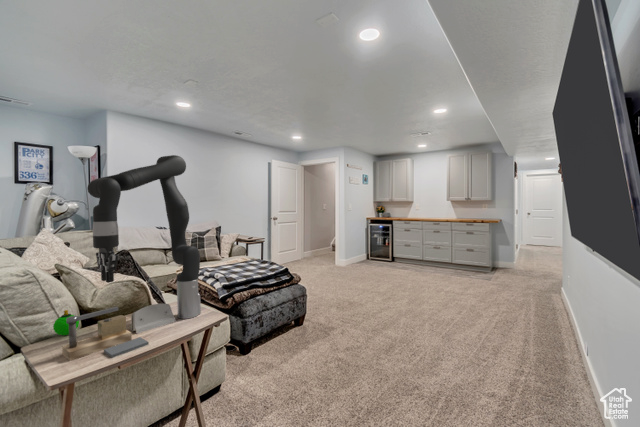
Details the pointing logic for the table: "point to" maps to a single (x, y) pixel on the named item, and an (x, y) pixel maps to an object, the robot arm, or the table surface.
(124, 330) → the tan rectangular block
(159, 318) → the grey upright curved plate
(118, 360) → the table surface
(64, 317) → the ornament
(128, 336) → the wooden base stand
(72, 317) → the lever
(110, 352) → the mat
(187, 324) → the table surface
